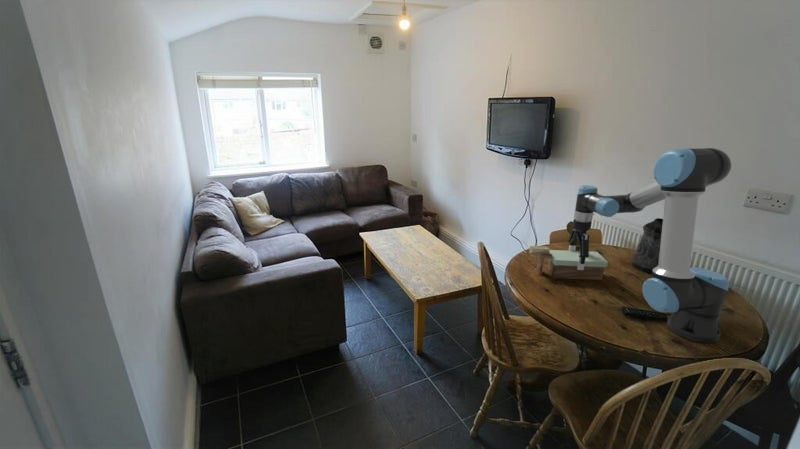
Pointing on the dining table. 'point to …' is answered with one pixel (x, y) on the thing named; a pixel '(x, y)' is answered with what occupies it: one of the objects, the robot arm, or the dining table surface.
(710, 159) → the robot arm
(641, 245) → the beer stein
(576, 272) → the toolbox
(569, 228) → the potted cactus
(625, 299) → the dining table surface
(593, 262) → the lid
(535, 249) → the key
